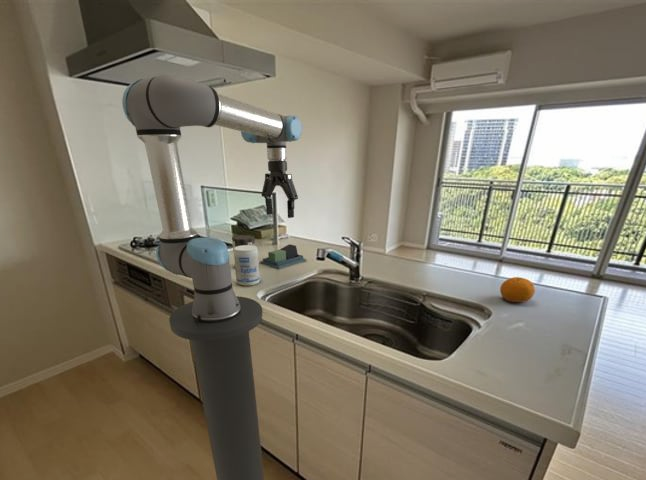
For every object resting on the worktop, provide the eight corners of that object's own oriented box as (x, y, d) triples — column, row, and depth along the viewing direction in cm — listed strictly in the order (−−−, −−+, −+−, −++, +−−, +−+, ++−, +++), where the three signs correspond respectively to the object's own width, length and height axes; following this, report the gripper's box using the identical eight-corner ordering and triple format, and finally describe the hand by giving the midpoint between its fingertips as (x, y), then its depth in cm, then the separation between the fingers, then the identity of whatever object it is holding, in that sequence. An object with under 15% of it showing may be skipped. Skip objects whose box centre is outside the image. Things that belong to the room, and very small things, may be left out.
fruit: (491, 297, 123) (496, 276, 119) (513, 293, 126) (518, 272, 122) (515, 307, 114) (521, 285, 110) (538, 303, 117) (545, 281, 113)
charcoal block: (288, 260, 166) (285, 251, 163) (281, 258, 169) (279, 249, 166) (298, 254, 170) (296, 245, 167) (291, 253, 173) (289, 244, 170)
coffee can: (261, 266, 162) (258, 236, 156) (243, 270, 155) (240, 240, 149) (247, 262, 168) (245, 233, 162) (230, 266, 161) (227, 237, 155)
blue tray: (279, 268, 157) (278, 263, 156) (260, 263, 166) (260, 258, 165) (306, 260, 169) (306, 256, 167) (287, 256, 177) (287, 251, 176)
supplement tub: (242, 288, 134) (238, 251, 128) (233, 281, 141) (229, 247, 135) (264, 283, 139) (261, 248, 133) (254, 277, 146) (251, 243, 140)
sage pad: (275, 264, 161) (274, 253, 158) (268, 262, 164) (268, 252, 162) (286, 261, 165) (285, 251, 163) (279, 259, 168) (279, 249, 166)
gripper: (306, 160, 127) (307, 217, 136) (264, 160, 143) (268, 212, 152) (291, 160, 122) (293, 220, 132) (250, 160, 138) (254, 214, 147)
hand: (280, 215), depth 142 cm, fingers open, 13 cm apart
